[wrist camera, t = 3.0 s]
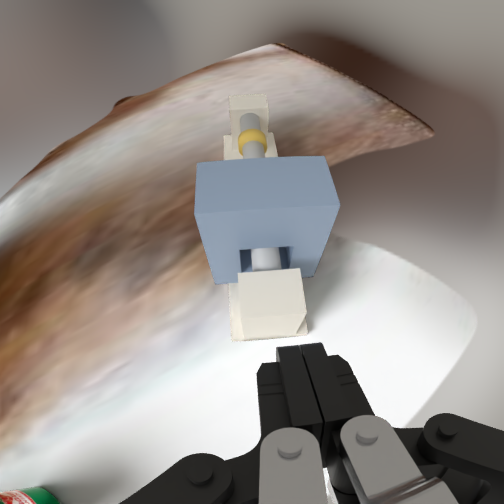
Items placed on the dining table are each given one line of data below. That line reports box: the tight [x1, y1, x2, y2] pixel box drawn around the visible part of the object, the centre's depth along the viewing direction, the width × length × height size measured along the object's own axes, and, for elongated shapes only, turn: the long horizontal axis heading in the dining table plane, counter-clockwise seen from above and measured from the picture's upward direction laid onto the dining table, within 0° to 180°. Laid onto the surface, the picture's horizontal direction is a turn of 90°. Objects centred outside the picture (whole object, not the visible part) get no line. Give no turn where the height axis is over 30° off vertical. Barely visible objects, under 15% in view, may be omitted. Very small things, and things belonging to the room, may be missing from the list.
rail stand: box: [224, 94, 308, 342], centre depth 26 cm, size 24×6×6 cm, turn 4°
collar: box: [194, 156, 340, 284], centre depth 21 cm, size 4×8×10 cm, turn 94°
